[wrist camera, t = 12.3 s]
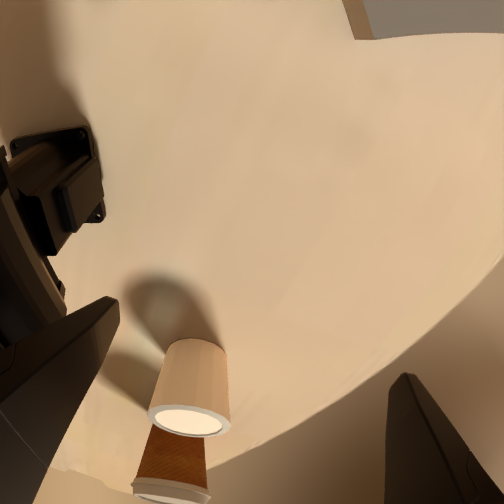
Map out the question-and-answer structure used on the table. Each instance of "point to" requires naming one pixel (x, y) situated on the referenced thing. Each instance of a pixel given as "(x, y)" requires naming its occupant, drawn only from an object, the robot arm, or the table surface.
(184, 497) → the disposable coffee cup
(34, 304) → the robot arm
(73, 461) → the table surface
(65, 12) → the table surface
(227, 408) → the tan cylindrical piece
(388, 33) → the plate
